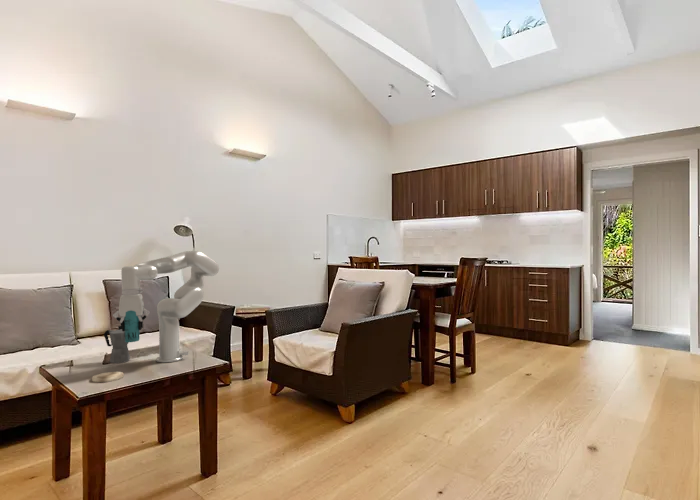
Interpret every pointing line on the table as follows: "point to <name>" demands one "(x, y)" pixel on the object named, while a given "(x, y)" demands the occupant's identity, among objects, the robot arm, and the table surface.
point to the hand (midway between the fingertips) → (132, 329)
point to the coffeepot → (117, 346)
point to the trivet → (107, 377)
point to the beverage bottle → (131, 327)
